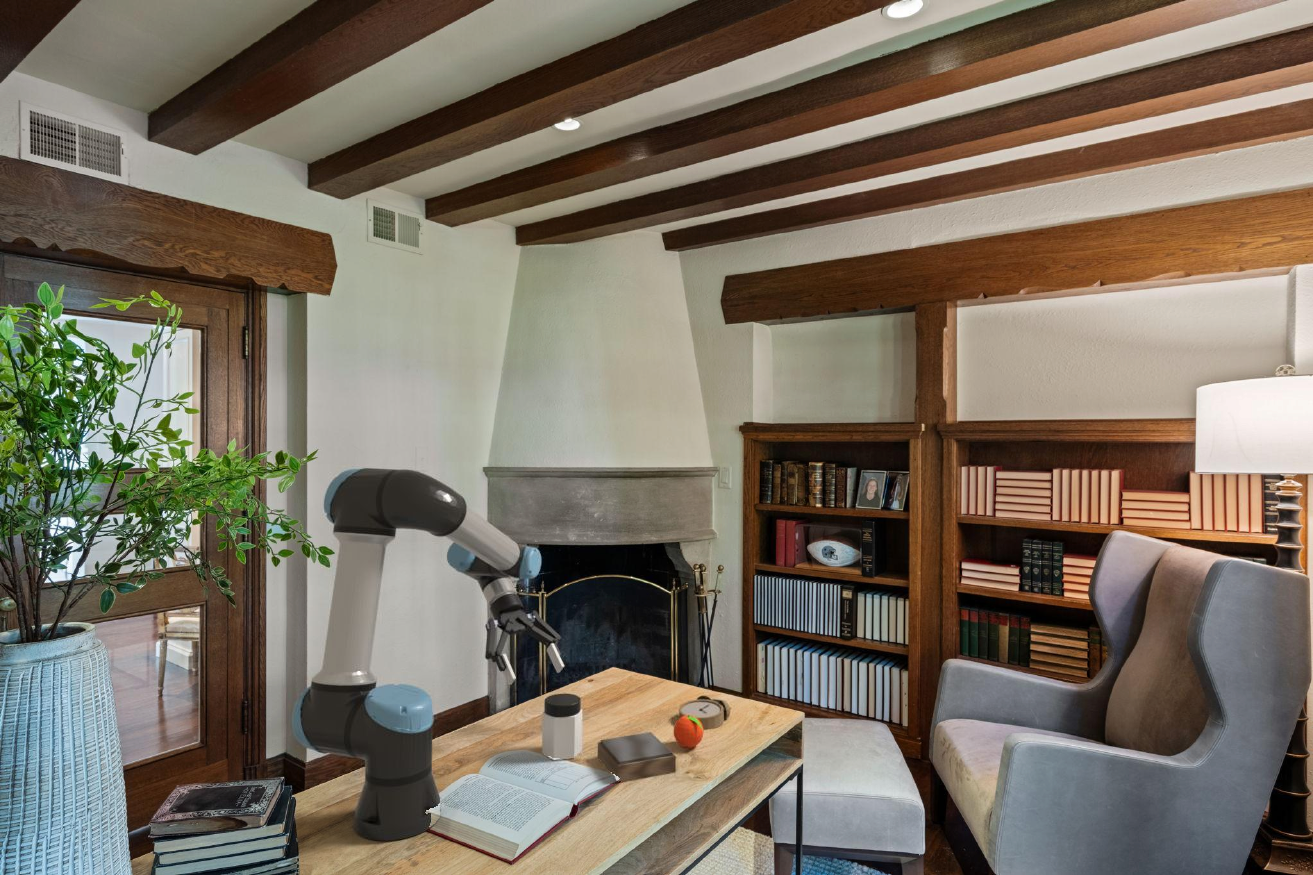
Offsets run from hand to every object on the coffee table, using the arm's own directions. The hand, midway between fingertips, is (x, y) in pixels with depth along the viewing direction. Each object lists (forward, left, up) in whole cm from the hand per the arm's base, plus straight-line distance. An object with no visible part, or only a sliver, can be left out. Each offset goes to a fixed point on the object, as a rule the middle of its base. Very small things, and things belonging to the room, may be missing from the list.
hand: (537, 675), depth 173 cm
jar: (+3, -10, -15) cm, 18 cm away
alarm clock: (+42, -4, -15) cm, 45 cm away
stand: (+16, -22, -15) cm, 31 cm away
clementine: (+31, -18, -15) cm, 39 cm away
